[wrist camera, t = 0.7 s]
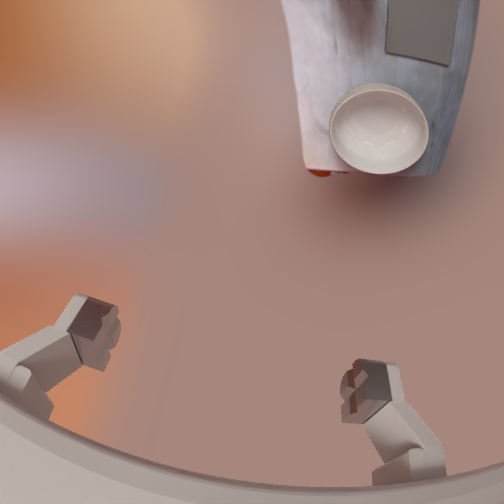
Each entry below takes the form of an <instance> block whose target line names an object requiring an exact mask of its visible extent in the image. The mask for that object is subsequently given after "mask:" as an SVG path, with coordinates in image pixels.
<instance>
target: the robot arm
mask: <svg viewBox="0 0 504 504" xmlns="http://www.w3.org/2000/svg"><path fill="white" fill-rule="evenodd" d="M117 315H118V307H117V306H116V305H113V304H110V303H107V302H104V301H101V300H98V299H95V298H92V297H89V296H87V295H84V294H81V293H77V294H75V295H74V296H73V298H72V299H71V301H70V302H69V304H68V305H67V307H66V308H65V310H64V311H63V313H62V314H61V316H60V317H59V319H58V320H57V322H56V323H55V325H54V326H51V325H50V326H48V327H46V328H44V329H42V330H40V331H38V332H36V333H34V334H32V335H31V336H29V337H27V338H25V339H23V340H21V341H19V342H17V343H16V344H14V345H12V346H10V347H8V348H6V349H4V350H2V351H1V352H0V504H504V462H500V463H497V464H493V465H490V466H487V467H483V468H479V469H476V470H472V471H468V472H464V473H459V474H455V475H450V476H447V475H446V467H445V459H444V453H443V447H442V444H441V443H440V442H439V440H438V439H437V438H436V437H435V435H434V434H433V433H432V431H431V430H430V429H429V427H428V426H427V425H426V424H425V422H424V421H423V420H422V419H421V417H420V416H419V415H418V413H417V412H416V411H415V410H414V408H413V407H412V406H411V405H410V403H409V402H405V397H404V392H403V387H402V382H401V377H400V372H399V367H398V365H397V364H396V363H391V362H383V361H376V360H366V359H357V360H355V362H354V363H353V369H351V370H348V371H347V372H346V373H345V375H344V376H343V378H342V381H341V387H340V394H341V396H342V398H343V399H344V403H343V404H342V406H341V413H342V422H346V423H357V424H363V427H364V429H365V430H366V432H367V434H368V435H369V437H370V439H371V441H372V443H373V444H374V446H375V448H376V450H377V451H378V453H379V455H380V456H381V458H382V460H383V462H384V463H385V464H384V465H382V466H380V467H379V468H376V469H375V470H374V471H373V472H372V483H373V486H365V487H364V486H363V487H302V486H300V487H299V486H286V485H273V484H264V483H255V482H248V481H241V480H234V479H228V478H222V477H216V476H211V475H206V474H201V473H197V472H192V471H187V470H184V469H180V468H176V467H172V466H168V465H164V464H161V463H157V462H154V461H150V460H147V459H144V458H140V457H137V456H134V455H131V454H128V453H125V452H122V451H120V450H117V449H114V448H111V447H109V446H106V445H103V444H101V443H98V442H96V441H93V440H91V439H89V438H86V437H84V436H81V435H79V434H77V433H74V432H72V431H70V430H68V429H66V428H63V427H62V426H59V425H57V424H55V423H53V422H51V421H49V417H50V415H51V412H52V410H53V408H54V406H53V403H52V401H51V400H50V399H49V397H48V396H47V394H46V392H47V391H49V390H50V389H51V388H53V387H54V386H56V385H57V384H58V383H60V382H61V381H62V380H63V379H65V378H66V377H68V376H69V375H71V374H72V373H73V372H75V371H76V370H77V369H79V368H80V367H81V366H82V364H83V365H86V366H88V367H91V368H94V369H97V370H100V371H104V370H105V368H106V365H107V363H108V361H109V359H110V353H109V350H110V349H112V348H114V347H115V346H116V344H117V342H118V339H119V335H120V330H121V324H120V321H119V320H118V318H117Z"/></svg>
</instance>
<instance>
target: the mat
mask: <svg viewBox="0 0 504 504" xmlns="http://www.w3.org/2000/svg"><path fill="white" fill-rule="evenodd" d="M457 8H458V0H388V9H387V27H386V41H385V52H390V53H395V54H401V55H406V56H411V57H416V58H420V59H425V60H429V61H433V62H437V63H441V64H445V65H449V62H450V56H451V51H452V45H453V38H454V32H455V25H456V17H457Z"/></svg>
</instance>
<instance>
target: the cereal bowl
mask: <svg viewBox="0 0 504 504" xmlns="http://www.w3.org/2000/svg"><path fill="white" fill-rule="evenodd" d="M329 132H330V138H331V142H332V145H333V147H334V149H335V151H336V152H337V153H338V155H339V156H340V157H341V158H342V159H343V160H344V161H345V162H346V163H347V164H349V165H350V166H352V167H354V168H356V169H358V170H361V171H364V172H367V173H373V174H390V173H395V172H399V171H401V170H404V169H406V168H408V167H409V166H411V165H412V164H414V163H415V162H416V161H417V160H418V159H419V158H420V157H421V156H422V154H423V152H424V151H425V149H426V146H427V142H428V136H429V131H428V124H427V121H426V117H425V115H424V113H423V111H422V109H421V108H420V106H419V105H418V103H417V102H416V101H415V100H414V99H413V98H412V97H411V96H410V95H409V94H408V93H406V92H405V91H403V90H401V89H399V88H398V87H395V86H392V85H389V84H383V83H368V84H363V85H360V86H357V87H355V88H353V89H351V90H349V91H348V92H346V93H345V94H344V95H343V96H342V97H341V98H340V99H339V100H338V102H337V103H336V105H335V107H334V109H333V111H332V114H331V118H330V125H329Z"/></svg>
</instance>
